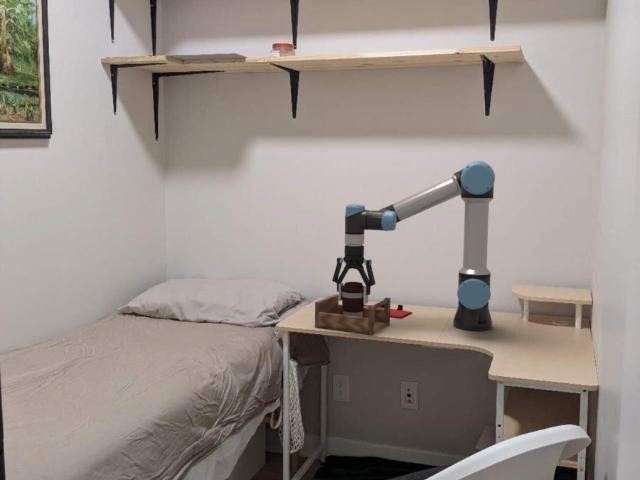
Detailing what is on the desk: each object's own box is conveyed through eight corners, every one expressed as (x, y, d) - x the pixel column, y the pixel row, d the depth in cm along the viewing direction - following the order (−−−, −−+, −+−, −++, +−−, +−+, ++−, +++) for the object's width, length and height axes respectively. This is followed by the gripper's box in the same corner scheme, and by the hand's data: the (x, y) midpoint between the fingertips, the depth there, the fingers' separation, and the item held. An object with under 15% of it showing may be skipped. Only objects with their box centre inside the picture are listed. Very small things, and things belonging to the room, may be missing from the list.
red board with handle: (354, 303, 314) (337, 310, 301) (354, 297, 313) (337, 304, 301) (415, 313, 298) (400, 320, 286) (415, 307, 298) (401, 314, 285)
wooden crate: (389, 325, 274) (390, 297, 273) (372, 335, 258) (372, 306, 257) (334, 318, 285) (335, 291, 284) (314, 327, 269) (315, 299, 268)
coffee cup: (365, 324, 266) (365, 285, 264) (339, 323, 267) (339, 285, 265) (366, 318, 276) (366, 281, 274) (341, 317, 277) (341, 280, 275)
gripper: (385, 245, 266) (383, 303, 269) (332, 241, 276) (331, 296, 279) (377, 247, 259) (376, 306, 262) (323, 243, 269) (323, 300, 272)
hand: (353, 301), depth 270 cm, fingers closed on coffee cup, 10 cm apart
